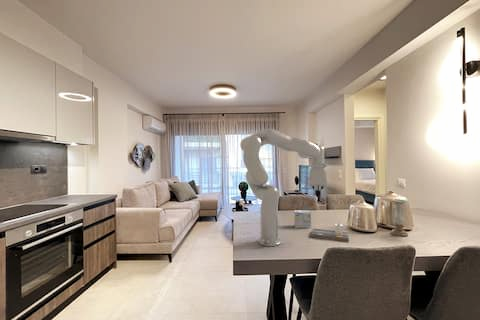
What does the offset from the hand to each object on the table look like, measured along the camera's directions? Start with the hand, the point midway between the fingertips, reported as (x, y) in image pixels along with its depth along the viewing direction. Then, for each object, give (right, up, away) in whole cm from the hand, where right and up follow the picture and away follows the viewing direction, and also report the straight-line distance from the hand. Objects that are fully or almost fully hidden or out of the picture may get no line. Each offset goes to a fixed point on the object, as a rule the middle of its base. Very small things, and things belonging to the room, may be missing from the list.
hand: (317, 197), depth 137 cm
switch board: (+6, -23, -3) cm, 24 cm away
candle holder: (+49, -23, 0) cm, 54 cm away
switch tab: (+11, -20, -5) cm, 24 cm away
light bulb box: (-4, -24, +18) cm, 30 cm away
